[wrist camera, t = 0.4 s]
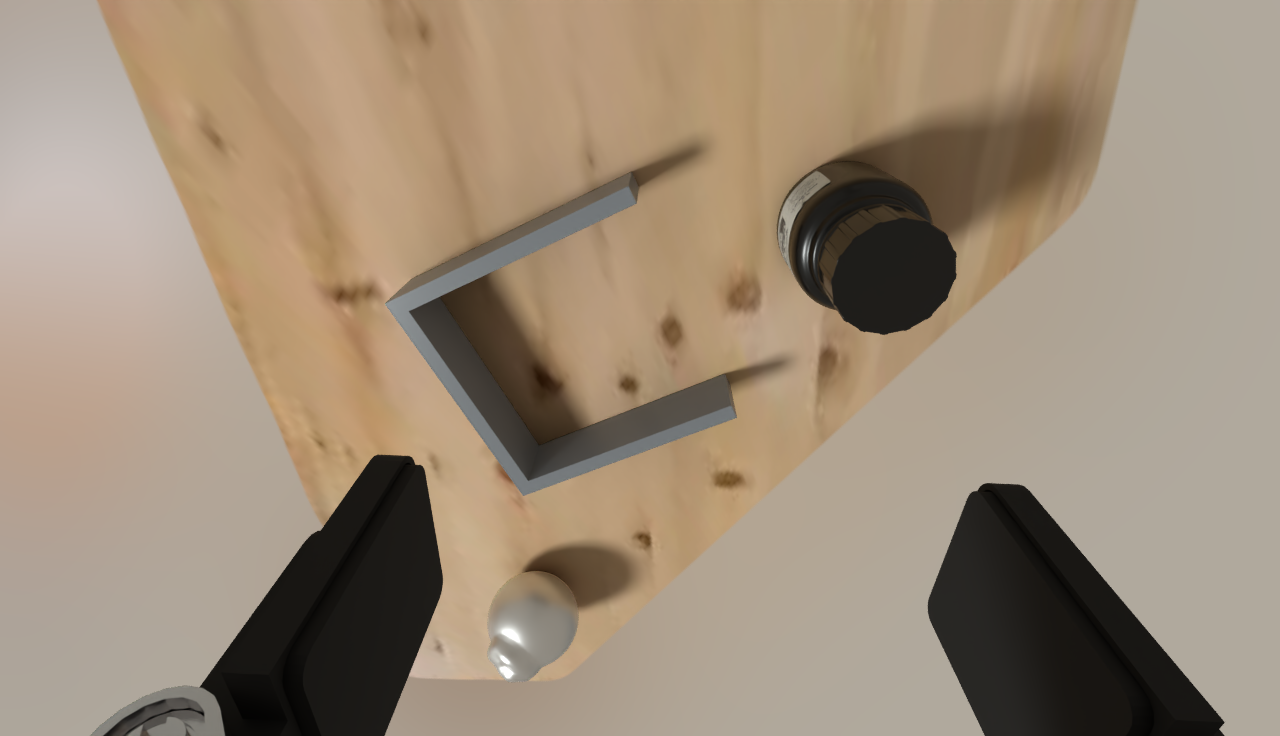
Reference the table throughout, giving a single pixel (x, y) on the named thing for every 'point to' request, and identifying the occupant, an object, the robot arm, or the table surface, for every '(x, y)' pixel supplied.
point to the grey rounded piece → (530, 624)
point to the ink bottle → (865, 247)
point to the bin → (485, 398)
